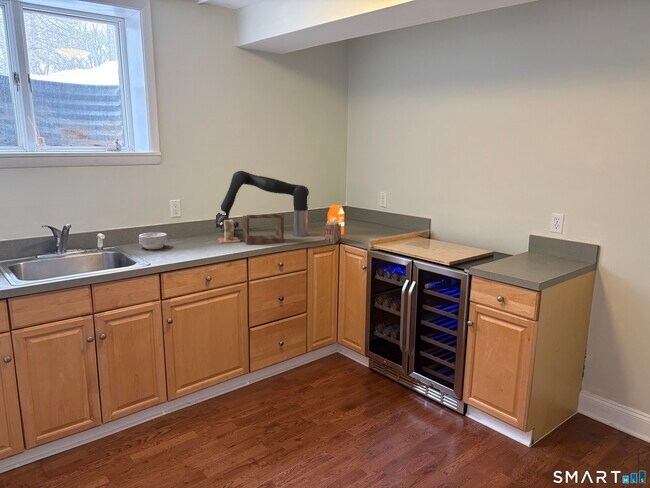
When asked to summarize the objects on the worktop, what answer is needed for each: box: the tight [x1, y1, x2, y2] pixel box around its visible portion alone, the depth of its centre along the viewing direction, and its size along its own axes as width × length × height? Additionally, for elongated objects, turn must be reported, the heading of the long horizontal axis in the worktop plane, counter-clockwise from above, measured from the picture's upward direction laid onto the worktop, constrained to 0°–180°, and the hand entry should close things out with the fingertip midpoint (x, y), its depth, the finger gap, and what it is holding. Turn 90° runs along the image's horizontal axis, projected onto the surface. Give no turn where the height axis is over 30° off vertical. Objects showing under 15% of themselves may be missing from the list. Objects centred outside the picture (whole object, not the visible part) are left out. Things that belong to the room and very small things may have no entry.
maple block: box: [223, 219, 235, 240], centre depth 303 cm, size 5×5×12 cm
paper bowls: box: [138, 232, 168, 250], centre depth 280 cm, size 15×15×8 cm
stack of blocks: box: [324, 221, 342, 244], centre depth 313 cm, size 21×6×12 cm, turn 167°
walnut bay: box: [242, 213, 285, 246], centre depth 302 cm, size 23×12×18 cm, turn 111°
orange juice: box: [326, 204, 345, 235], centre depth 333 cm, size 8×9×20 cm
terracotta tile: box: [217, 236, 241, 244], centre depth 304 cm, size 12×12×1 cm
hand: (228, 226), depth 302 cm, fingers open, 8 cm apart
